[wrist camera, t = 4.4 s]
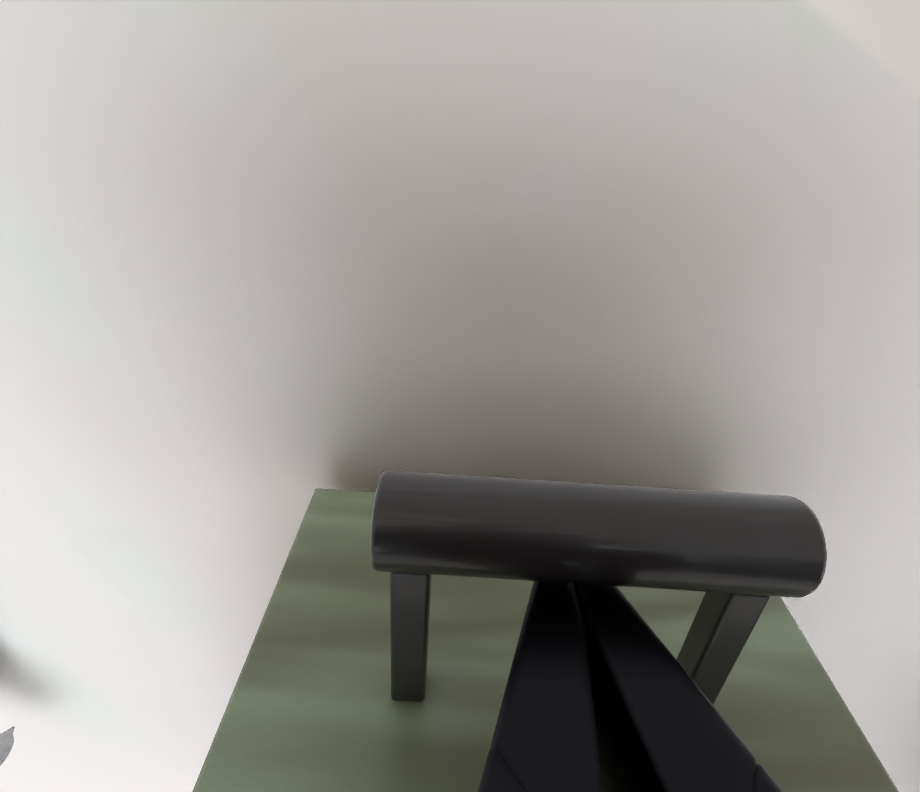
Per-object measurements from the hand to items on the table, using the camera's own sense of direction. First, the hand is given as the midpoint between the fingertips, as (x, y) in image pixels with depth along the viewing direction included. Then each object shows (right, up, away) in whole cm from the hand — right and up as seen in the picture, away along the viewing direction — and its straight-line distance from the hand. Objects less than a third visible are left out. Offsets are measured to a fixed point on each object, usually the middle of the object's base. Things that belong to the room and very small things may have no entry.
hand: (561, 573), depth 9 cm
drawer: (0, -3, +7) cm, 8 cm away
